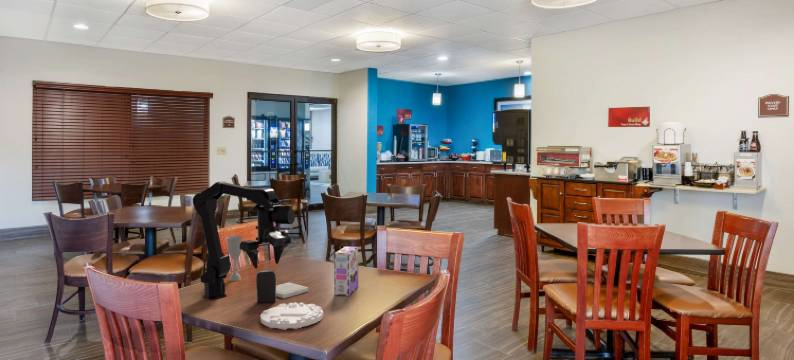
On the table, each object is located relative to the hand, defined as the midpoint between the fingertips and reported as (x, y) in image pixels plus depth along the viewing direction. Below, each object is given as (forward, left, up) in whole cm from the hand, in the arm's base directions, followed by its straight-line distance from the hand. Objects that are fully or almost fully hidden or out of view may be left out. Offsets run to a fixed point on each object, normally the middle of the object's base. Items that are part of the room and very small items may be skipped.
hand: (266, 266), depth 179 cm
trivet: (+12, +4, -13) cm, 18 cm away
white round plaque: (-6, -22, -14) cm, 27 cm away
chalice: (+10, +36, -13) cm, 39 cm away
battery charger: (0, 0, -13) cm, 13 cm away
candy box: (+28, -13, -13) cm, 33 cm away
